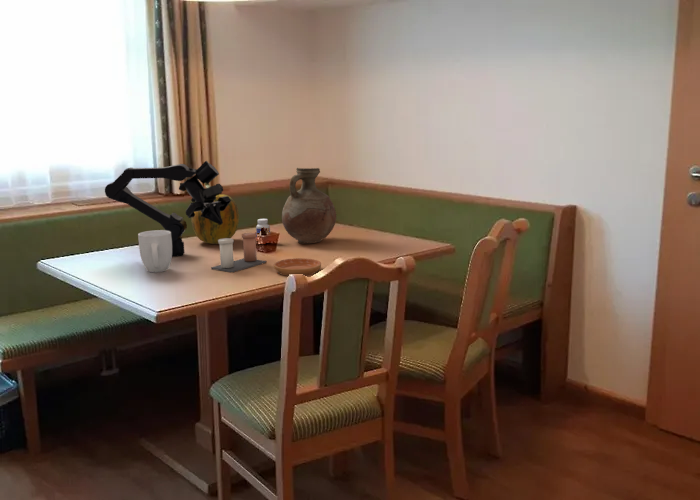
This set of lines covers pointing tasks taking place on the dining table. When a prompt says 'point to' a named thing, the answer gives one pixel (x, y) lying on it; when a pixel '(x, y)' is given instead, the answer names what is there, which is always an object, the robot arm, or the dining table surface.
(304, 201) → the jug
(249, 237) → the pink lidded jar
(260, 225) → the pill bottle
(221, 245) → the white lidded cylinder
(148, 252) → the mug
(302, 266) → the saucer
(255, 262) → the mat
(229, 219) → the pumpkin
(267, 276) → the dining table surface
